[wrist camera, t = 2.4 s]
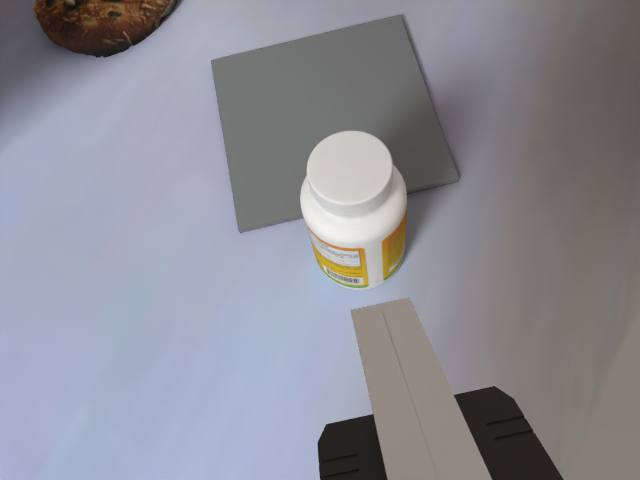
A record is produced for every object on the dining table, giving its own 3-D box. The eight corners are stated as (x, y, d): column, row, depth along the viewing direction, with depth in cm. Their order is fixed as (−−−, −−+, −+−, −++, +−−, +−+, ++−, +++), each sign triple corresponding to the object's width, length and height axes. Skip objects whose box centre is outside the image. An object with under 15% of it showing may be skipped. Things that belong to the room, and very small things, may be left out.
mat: (458, 181, 37) (458, 178, 37) (240, 232, 37) (238, 230, 37) (400, 18, 43) (400, 14, 43) (212, 64, 43) (210, 60, 43)
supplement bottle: (385, 198, 37) (383, 101, 28) (419, 273, 35) (427, 193, 26) (304, 227, 37) (276, 139, 28) (332, 305, 35) (312, 234, 26)
